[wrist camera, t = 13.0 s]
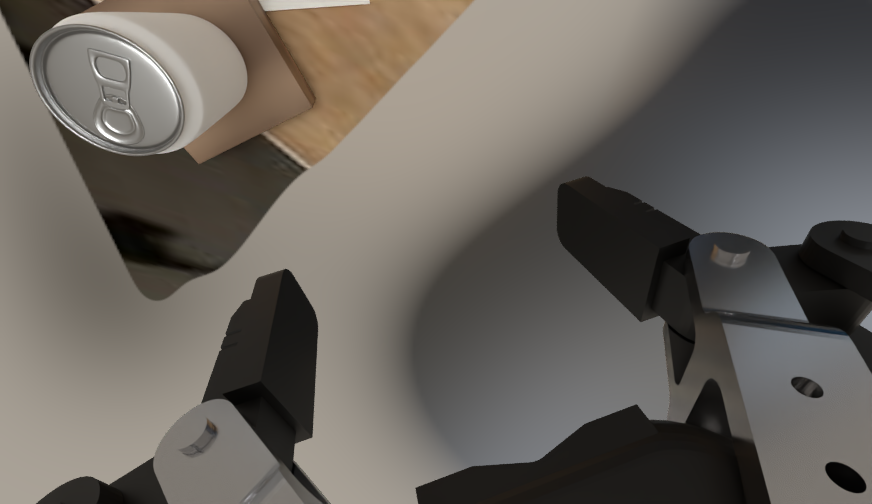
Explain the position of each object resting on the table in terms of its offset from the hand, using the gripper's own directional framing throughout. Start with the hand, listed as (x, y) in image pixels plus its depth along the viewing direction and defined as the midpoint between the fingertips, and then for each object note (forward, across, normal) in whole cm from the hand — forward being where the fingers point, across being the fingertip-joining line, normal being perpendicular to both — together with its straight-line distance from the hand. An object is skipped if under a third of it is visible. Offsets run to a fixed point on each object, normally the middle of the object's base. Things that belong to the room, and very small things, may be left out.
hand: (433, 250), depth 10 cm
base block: (+28, +11, -5) cm, 31 cm away
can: (+24, +11, -5) cm, 27 cm away
